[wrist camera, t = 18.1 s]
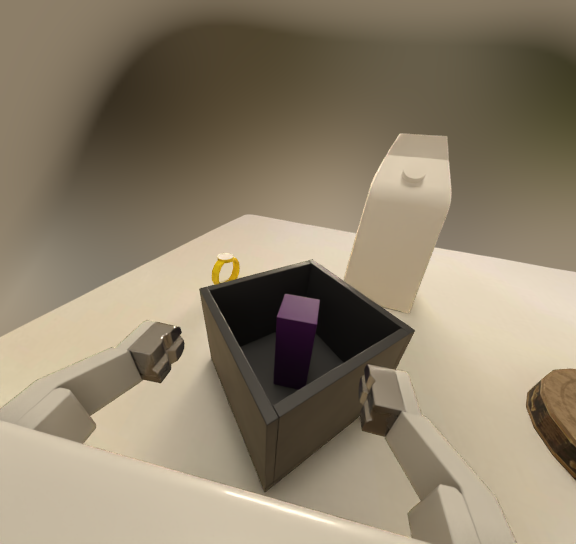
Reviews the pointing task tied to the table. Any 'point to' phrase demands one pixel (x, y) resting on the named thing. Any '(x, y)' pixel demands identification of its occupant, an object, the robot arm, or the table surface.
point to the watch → (221, 260)
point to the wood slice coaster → (556, 415)
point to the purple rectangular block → (294, 340)
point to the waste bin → (323, 366)
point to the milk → (401, 221)
